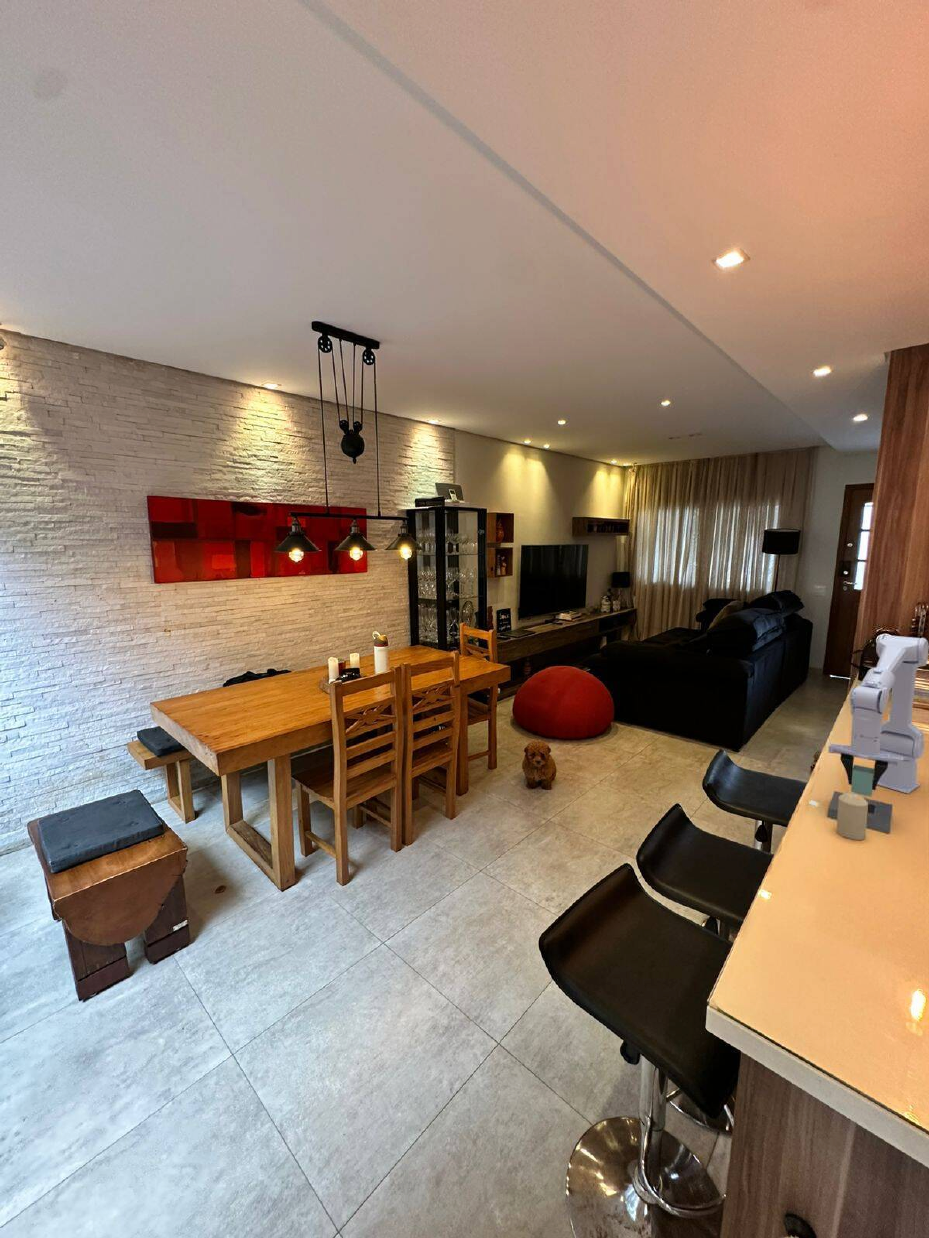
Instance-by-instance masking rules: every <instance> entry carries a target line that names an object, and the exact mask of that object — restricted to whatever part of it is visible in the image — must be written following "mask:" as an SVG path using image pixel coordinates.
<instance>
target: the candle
mask: <svg viewBox="0 0 929 1238" xmlns="http://www.w3.org/2000/svg"><path fill="white" fill-rule="evenodd" d="M843 793H844V792H843ZM863 798H864V797H862V795H860V794H857V793H854V792H851V791H846V792H845V793H844V794H842V795H841V796H839V801H838V816H837V820H836V832H837V834H839V835H840V836H843V837H845V838H846V839H849V840H855V841H862V840H865V839H866V835H867V828H866V825H867V811H868V802H867V801H866V800H865V799H863Z"/></svg>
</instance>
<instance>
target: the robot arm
mask: <svg viewBox="0 0 929 1238" xmlns="http://www.w3.org/2000/svg"><path fill="white" fill-rule="evenodd" d="M875 647H876V650H875V652H876V654H877V656H878V658H879V660H878V661H877V664H876V666H875V667H872V668H870V669H869V670H868V671H867V673H866V674H865V676H864V678H863V679H862V681H861V683H860V684H859V685H858V686H853V687H852V689H851V692H850V694H849V706H850V715H852V719H851V721H852V722H851V733H850V734H851V737H850V745H845V744H844V745H843V744H834V743H829V744H828V754H838V755H840V762H841V763H842V766H843V768H844V770H845V773H846V776H847V781H848V785H850V786H852V772H853V767H854V760H855V758H858V759H864V760H869V761H874V766H873V769H874V778H873V784H872V790H873V791H876V790H877V786H881V787H884V788H888V789H891V790H894V791H896V792H897V791H898V792H901V793H904V794H910V793H911V792H913V791H914V790H915V789H917V788H918V787H919V786H921V783H919V782H917V775H918V761H917V760H918V759H920V758H921V757H922V756H923V753H924V749H925V740H924V739H925V738H924V737H925V734H924V732H923V730H921V729H920V728H918V727H917V726H916V725H915V724H913V723H912V720H913V719H912V718H913V708H914V707H913V706H914V696H915V687H916V679H917V671H918V669H919V668H920V667H924V666H925V667H926V666H927V663H928V659H929V657H928V656H929V641H928V640H927V639H926V638H925V637H921V638H920V637H913V636H910V637H909V636H900V635H899V636H898V635H887V634H881V635H880V636H878V638H877V642H876V646H875ZM890 691H891V698H890V695H889V693H890ZM889 698H890V700H891V701H890V708H889V709H890V711H889V720H887V721H884V722H883V715H884V714H883V713H885V711H886V709H887V707H888V703H889V702H888V701H889Z"/></svg>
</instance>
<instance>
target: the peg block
mask: <svg viewBox="0 0 929 1238" xmlns="http://www.w3.org/2000/svg"><path fill="white" fill-rule="evenodd" d="M873 779H874V767H873V768H872V767H868V766H864V765H859V764H853V772H852V785H850V786H851V788H850V792H854V793H856V794H858V795H860V796H866V797H870V798H872V795H873V791H874V790H872V784H873Z"/></svg>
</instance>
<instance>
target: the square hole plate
mask: <svg viewBox="0 0 929 1238" xmlns="http://www.w3.org/2000/svg"><path fill="white" fill-rule="evenodd" d="M842 794H844V792H841V791H836V790H834V792H833V793H832V797H831V801H830V803H829V805H828V809H827V818H829V819H833V820H836V821H837V816H838V801H839V796H841V795H842ZM862 798H863V799H865V800H866V801H867V802H868V811H867V825H866V829H871V830H874V831H876V832H877V831H878V832H882V833H885V834H890V833H891V823H892V816H893V804H892V803H891V804H890V803H886V802H882V801H878V800H873V799H870V798H866V797H862Z"/></svg>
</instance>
